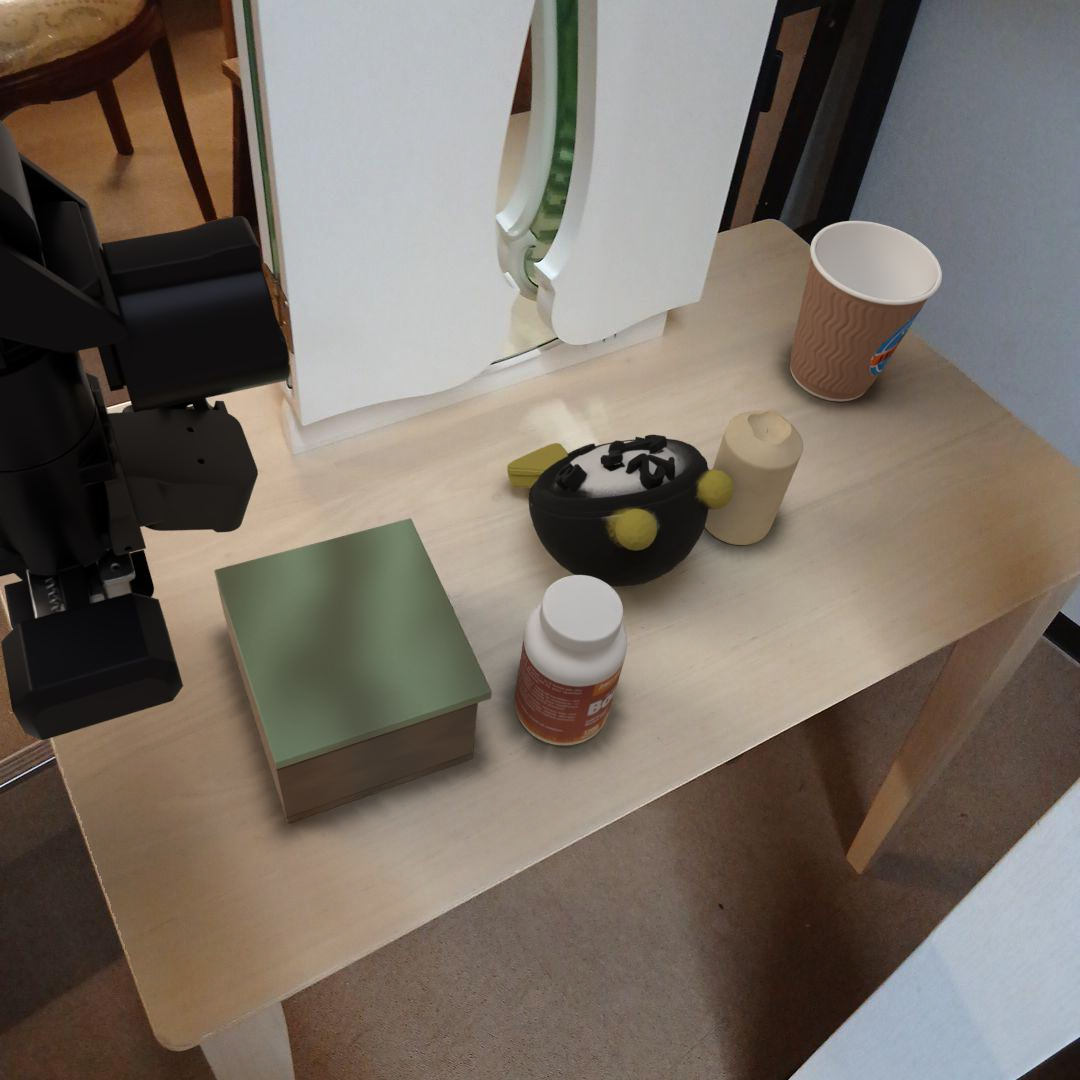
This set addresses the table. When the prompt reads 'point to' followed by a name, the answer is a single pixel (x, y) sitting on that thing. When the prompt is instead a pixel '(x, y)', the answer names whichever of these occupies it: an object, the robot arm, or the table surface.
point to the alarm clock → (620, 505)
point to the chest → (366, 758)
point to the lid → (348, 641)
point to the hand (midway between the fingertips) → (106, 639)
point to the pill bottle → (571, 661)
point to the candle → (754, 474)
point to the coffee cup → (858, 305)
